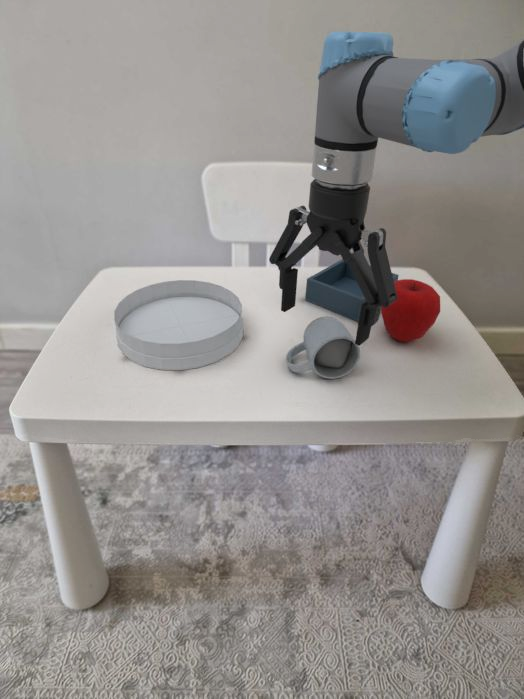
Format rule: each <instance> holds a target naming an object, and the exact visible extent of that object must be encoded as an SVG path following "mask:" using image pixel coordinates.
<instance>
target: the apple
mask: <svg viewBox="0 0 524 699" xmlns="http://www.w3.org/2000/svg"><path fill="white" fill-rule="evenodd" d="M394 285H395V289H396V293H397V300H396V301H395V302H393V303H392V304H391V305H389V306H388V307H386V308H385V307H382V306H381V310H380V314H381V317H382V321H383V325H384V329H385V330H386V332H387V333H388V334H389V335H390V336H391V337H392V338H393V339H394V340H396V341H398V342H402V343H407V342H412V341H415V340H419V339H422V337H424V336H425V334H426V333H427V332H428V331H429V330H430V329H431V328H432V327H433V325H434V324H435V323H436V320H437V319H438V317H439V315H440V313H441V296H440V294H439V293H438V292H437V290H436V289H435V288H434V287H433V286H431V285H429V284H428V283H426V282H423V281H420V280H417V279H411V278H410V279H409V278H405V279H398V281H396V282H394Z"/></svg>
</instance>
